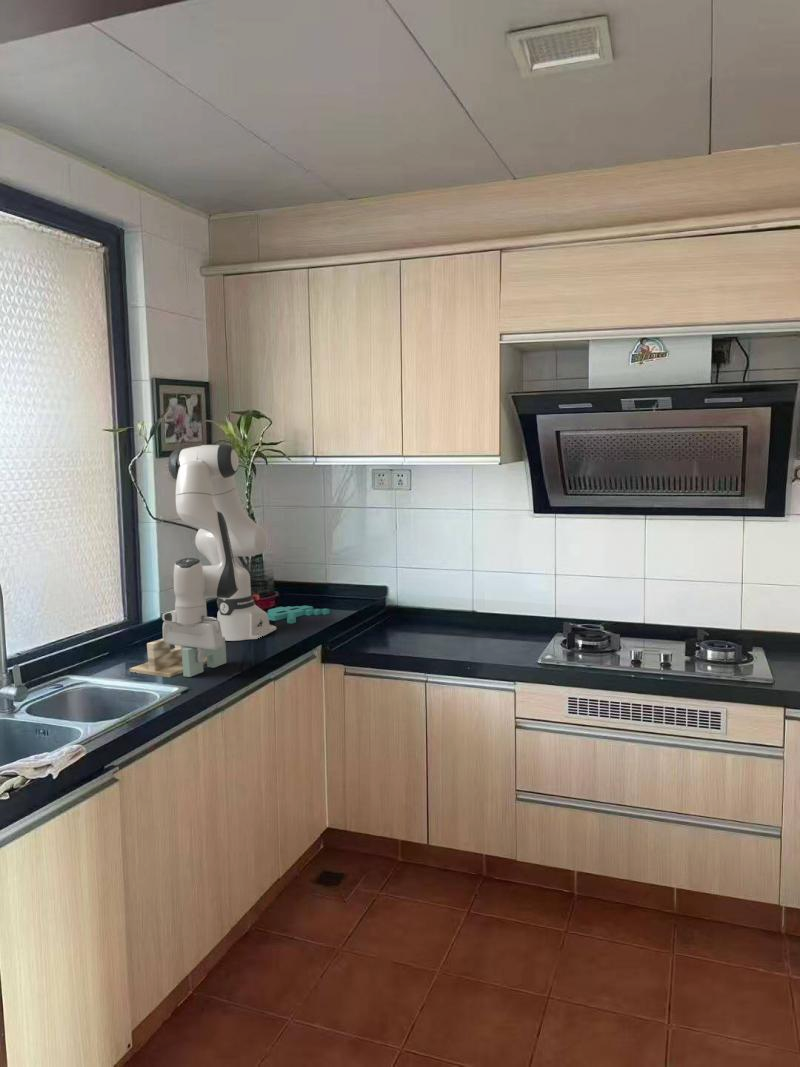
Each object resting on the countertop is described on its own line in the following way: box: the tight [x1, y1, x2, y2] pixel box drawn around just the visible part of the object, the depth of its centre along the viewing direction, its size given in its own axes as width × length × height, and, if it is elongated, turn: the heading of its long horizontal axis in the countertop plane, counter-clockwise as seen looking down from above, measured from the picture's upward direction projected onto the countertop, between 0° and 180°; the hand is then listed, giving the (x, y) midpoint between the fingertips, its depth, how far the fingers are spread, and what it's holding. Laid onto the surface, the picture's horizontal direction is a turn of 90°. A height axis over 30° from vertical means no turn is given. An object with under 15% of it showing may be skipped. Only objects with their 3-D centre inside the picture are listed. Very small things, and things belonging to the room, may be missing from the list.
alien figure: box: [266, 605, 330, 624], centre depth 322 cm, size 20×2×20 cm
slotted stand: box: [129, 637, 207, 678], centre depth 255 cm, size 20×16×9 cm
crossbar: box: [182, 637, 227, 678], centre depth 249 cm, size 16×2×8 cm, turn 151°
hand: (194, 661), depth 246 cm, fingers closed on crossbar, 2 cm apart
